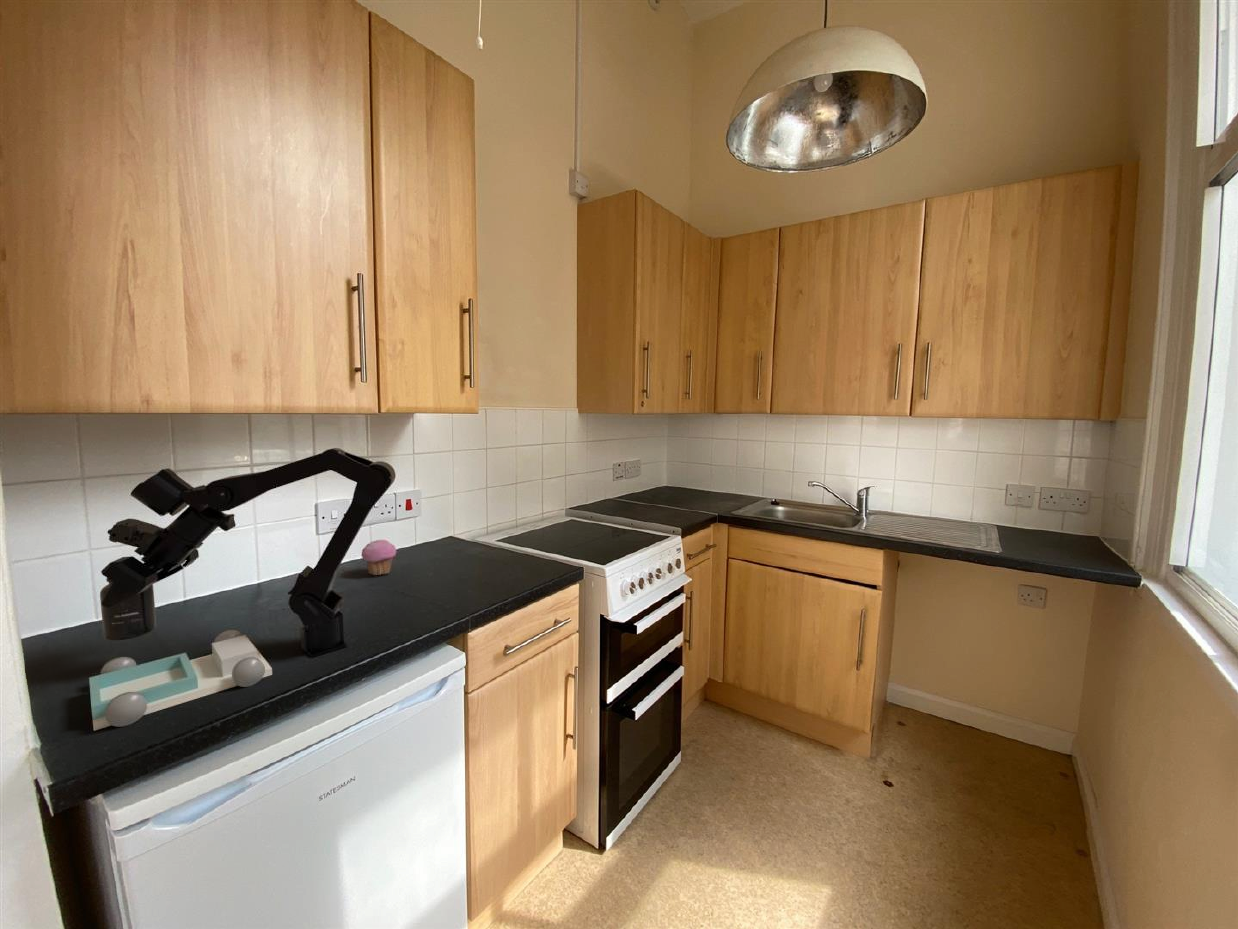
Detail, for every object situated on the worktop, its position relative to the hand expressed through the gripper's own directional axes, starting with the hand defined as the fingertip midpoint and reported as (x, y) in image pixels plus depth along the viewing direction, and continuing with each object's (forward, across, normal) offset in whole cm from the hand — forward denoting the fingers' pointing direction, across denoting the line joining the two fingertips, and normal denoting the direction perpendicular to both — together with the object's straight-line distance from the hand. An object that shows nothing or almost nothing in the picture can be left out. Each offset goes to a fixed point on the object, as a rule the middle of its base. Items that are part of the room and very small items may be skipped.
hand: (118, 598), depth 90 cm
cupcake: (-15, -46, +35) cm, 60 cm away
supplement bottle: (+4, 0, +6) cm, 7 cm away
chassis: (+1, +9, +18) cm, 20 cm away
